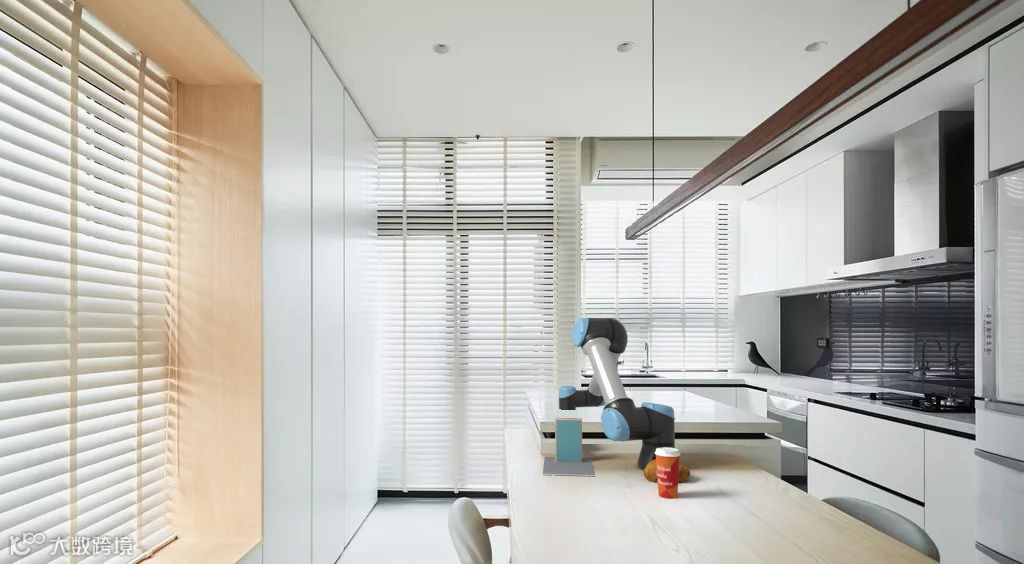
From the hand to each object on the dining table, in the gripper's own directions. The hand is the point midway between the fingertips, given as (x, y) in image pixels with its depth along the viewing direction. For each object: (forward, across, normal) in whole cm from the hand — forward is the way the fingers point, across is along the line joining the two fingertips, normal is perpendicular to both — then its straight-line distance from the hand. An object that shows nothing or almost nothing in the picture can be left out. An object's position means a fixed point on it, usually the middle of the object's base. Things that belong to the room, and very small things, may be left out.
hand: (568, 436), depth 229 cm
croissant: (+24, -33, -9) cm, 42 cm away
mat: (+12, 0, -9) cm, 15 cm away
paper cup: (+45, -30, -9) cm, 55 cm away
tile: (+6, 0, -8) cm, 10 cm away
